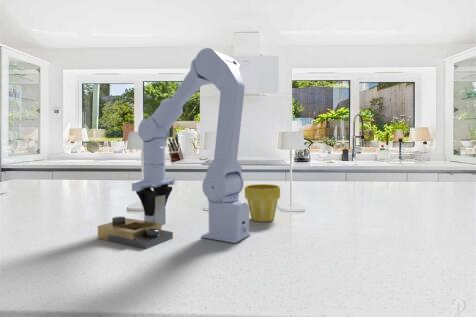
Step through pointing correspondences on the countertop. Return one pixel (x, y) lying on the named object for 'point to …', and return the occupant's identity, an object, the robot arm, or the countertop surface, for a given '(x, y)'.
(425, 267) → the countertop surface
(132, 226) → the brass plate with knob
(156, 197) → the grey metal block
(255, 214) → the plant pot
